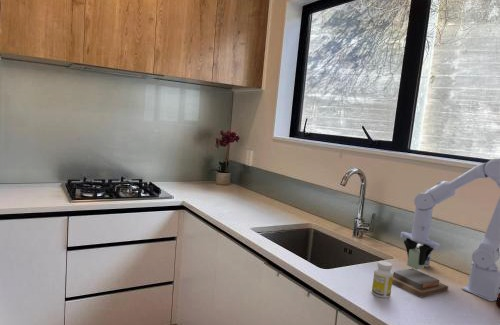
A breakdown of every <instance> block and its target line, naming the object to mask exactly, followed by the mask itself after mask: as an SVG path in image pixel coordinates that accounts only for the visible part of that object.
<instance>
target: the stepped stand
mask: <svg viewBox="0 0 500 325" xmlns="http://www.w3.org/2000/svg"><path fill="white" fill-rule="evenodd" d="M392 285H395V286H397V287H399V288H401V289H403V290H405V291H407V292H408V293H411V294H413V295H415V296H418V297H420V298H423V297H428V296H431V295H436V294H439V293H443V292H447V291H449V285H446V284H444V283H442V282H440V279H438V278H435V277H433V276H431V275H429V274H426V273H424V272H422V271H419V270H418V269H415V268H412V267H411V268H407V269H402V270H398V271H397V270H396V271H393V280H392Z"/></svg>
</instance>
